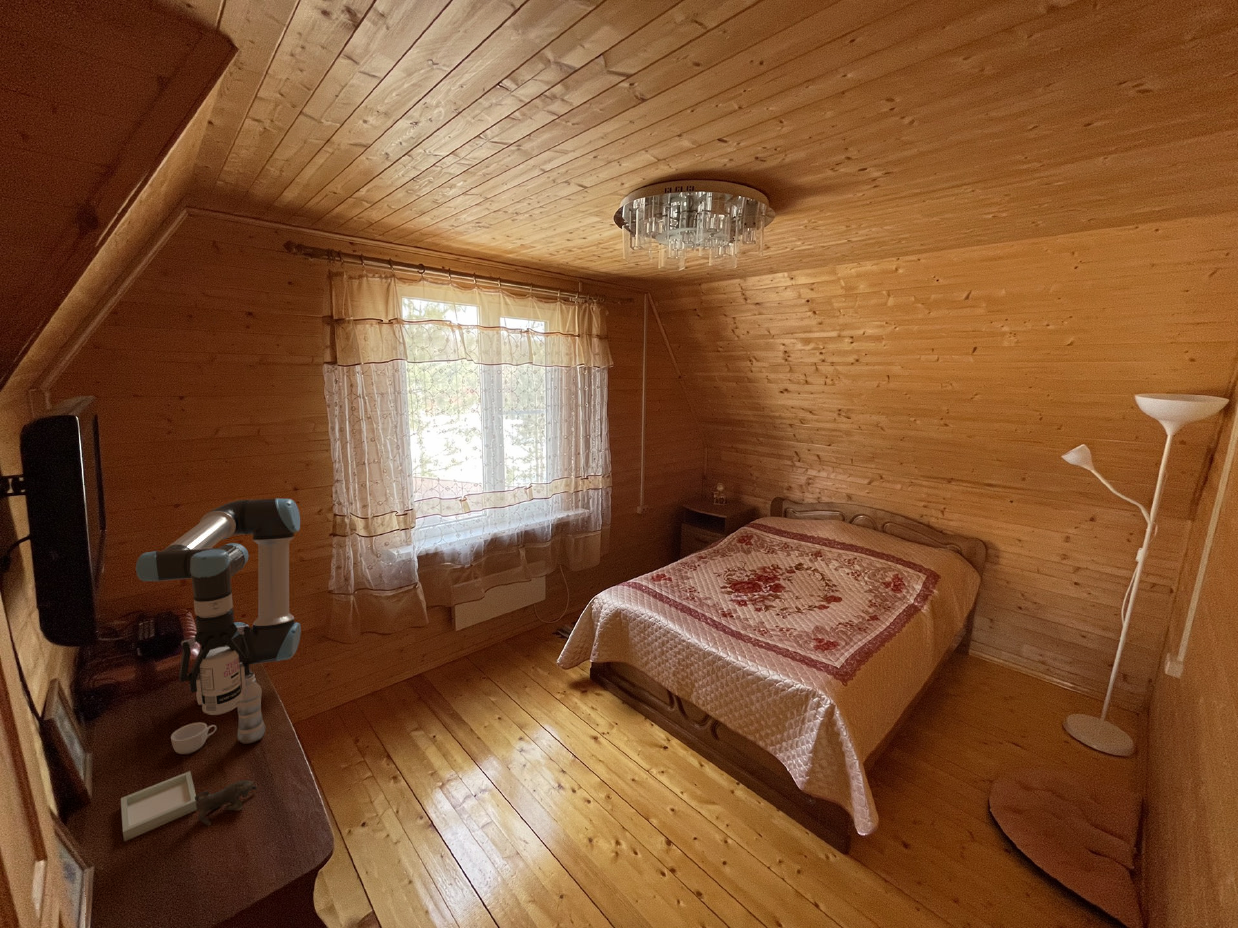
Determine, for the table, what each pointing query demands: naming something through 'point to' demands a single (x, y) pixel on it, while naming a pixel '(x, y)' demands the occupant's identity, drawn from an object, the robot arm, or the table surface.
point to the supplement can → (220, 681)
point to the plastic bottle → (250, 712)
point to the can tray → (157, 805)
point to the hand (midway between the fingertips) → (221, 694)
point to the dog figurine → (223, 798)
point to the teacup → (190, 737)
